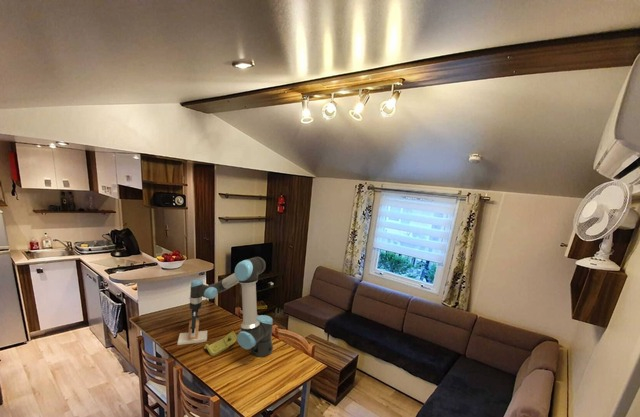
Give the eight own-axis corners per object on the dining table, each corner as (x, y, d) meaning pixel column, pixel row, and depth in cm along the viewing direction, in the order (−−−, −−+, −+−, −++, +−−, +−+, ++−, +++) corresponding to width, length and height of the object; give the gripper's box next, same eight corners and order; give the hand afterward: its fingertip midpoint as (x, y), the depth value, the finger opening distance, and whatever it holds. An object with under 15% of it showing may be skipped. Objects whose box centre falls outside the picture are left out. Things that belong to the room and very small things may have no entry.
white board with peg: (206, 341, 180) (207, 332, 180) (177, 344, 173) (178, 335, 173) (207, 332, 191) (207, 324, 191) (179, 335, 184) (180, 326, 184)
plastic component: (212, 354, 164) (205, 342, 169) (210, 361, 166) (202, 349, 171) (239, 339, 179) (232, 329, 184) (236, 346, 182) (229, 335, 187)
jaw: (197, 338, 180) (198, 324, 180) (188, 339, 178) (189, 325, 177) (198, 333, 187) (199, 319, 186) (189, 334, 184) (190, 320, 184)
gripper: (191, 295, 191) (189, 323, 192) (187, 310, 168) (185, 342, 169) (202, 294, 194) (200, 322, 195) (200, 309, 171) (198, 340, 172)
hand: (193, 331), depth 182 cm, fingers open, 13 cm apart
